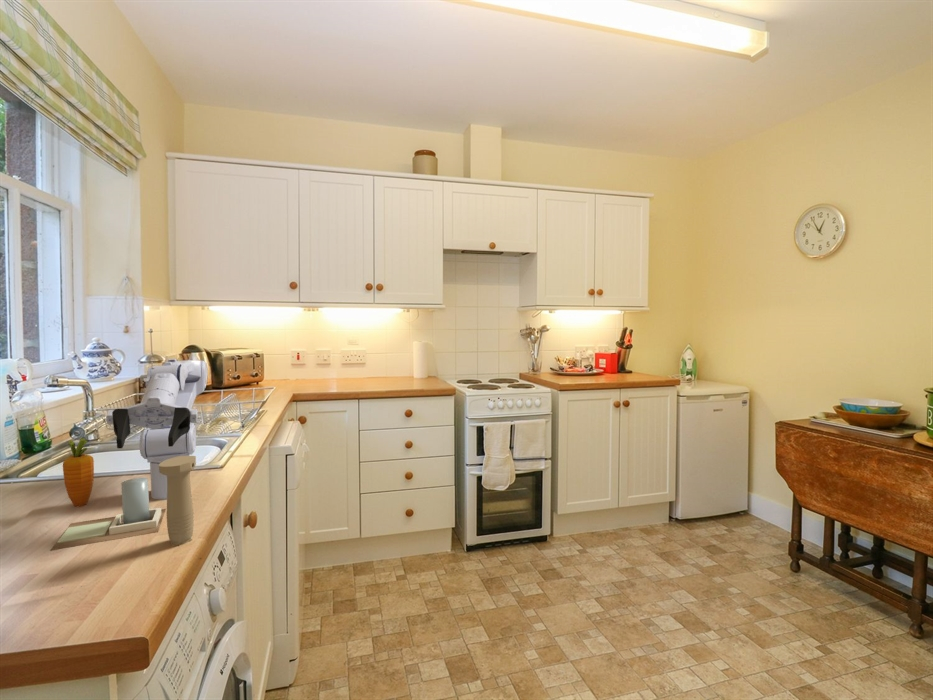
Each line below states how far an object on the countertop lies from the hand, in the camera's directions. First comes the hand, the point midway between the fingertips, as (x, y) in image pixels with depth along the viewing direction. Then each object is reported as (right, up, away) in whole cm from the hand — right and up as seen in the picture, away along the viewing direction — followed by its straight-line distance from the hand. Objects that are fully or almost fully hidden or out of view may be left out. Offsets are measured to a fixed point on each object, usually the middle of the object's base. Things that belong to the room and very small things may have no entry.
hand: (145, 442), depth 85 cm
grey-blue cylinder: (-4, -16, +4) cm, 17 cm away
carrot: (-22, -17, +14) cm, 31 cm away
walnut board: (-7, -17, +2) cm, 19 cm away
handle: (+9, -17, -3) cm, 20 cm away
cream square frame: (-4, -16, +4) cm, 17 cm away
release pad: (-11, -16, 0) cm, 19 cm away
